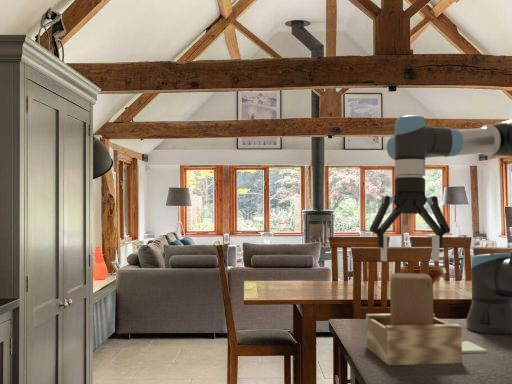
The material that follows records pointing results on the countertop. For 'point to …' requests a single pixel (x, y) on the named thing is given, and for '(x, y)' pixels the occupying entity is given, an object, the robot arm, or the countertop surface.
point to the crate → (413, 341)
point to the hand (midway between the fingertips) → (409, 261)
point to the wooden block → (411, 299)
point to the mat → (471, 348)
